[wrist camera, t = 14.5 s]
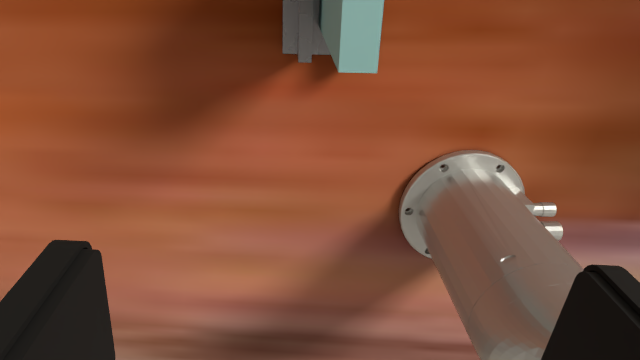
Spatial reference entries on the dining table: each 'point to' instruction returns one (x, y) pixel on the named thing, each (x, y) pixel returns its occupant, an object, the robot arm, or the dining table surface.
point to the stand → (303, 29)
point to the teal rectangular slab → (352, 33)
